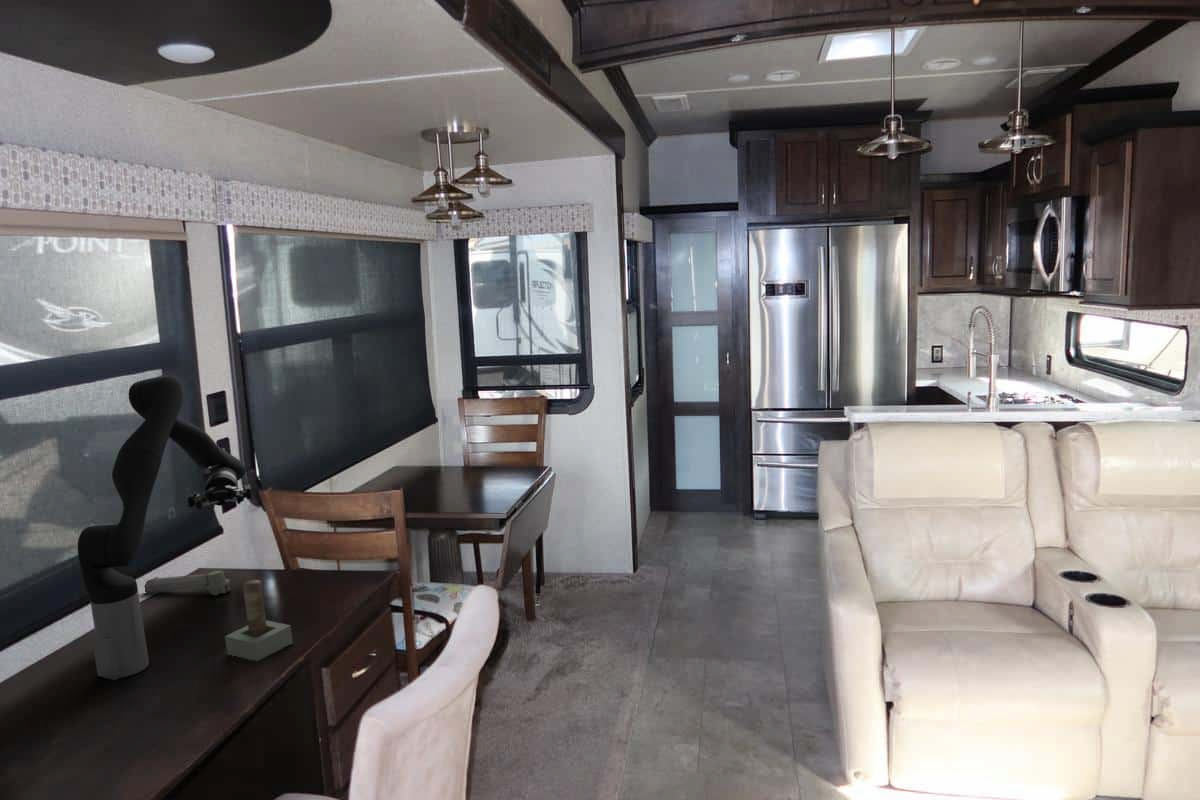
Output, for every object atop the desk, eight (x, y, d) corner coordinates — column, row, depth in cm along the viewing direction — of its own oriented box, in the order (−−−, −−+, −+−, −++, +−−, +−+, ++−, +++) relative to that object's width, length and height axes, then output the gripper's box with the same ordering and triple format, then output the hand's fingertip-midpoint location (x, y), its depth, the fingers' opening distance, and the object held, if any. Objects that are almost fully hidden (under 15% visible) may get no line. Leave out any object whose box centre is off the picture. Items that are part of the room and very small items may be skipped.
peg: (259, 654, 195) (250, 587, 192) (247, 651, 197) (239, 585, 194) (272, 647, 198) (264, 581, 196) (261, 644, 200) (253, 579, 197)
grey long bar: (149, 576, 240) (229, 564, 236) (155, 598, 241) (235, 586, 237) (136, 583, 235) (218, 571, 231) (143, 606, 236) (225, 594, 232)
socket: (257, 662, 191) (255, 643, 190) (227, 654, 195) (224, 636, 195) (292, 643, 199) (290, 625, 198) (263, 636, 204) (260, 619, 203)
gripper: (189, 477, 216) (184, 491, 201) (249, 469, 221) (249, 483, 206) (193, 505, 218) (188, 522, 203) (253, 497, 223) (253, 513, 208)
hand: (219, 502), depth 205 cm, fingers open, 8 cm apart
